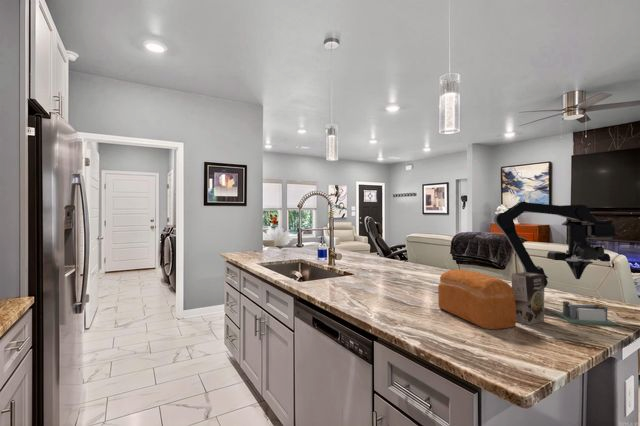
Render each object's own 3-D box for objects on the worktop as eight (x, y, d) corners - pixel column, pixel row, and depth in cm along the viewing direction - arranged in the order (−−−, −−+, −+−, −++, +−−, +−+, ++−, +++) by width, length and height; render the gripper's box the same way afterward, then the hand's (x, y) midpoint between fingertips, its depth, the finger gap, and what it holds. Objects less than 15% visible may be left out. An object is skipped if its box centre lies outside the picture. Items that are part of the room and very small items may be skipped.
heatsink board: (571, 323, 110) (572, 307, 110) (555, 313, 120) (555, 299, 119) (615, 325, 108) (615, 308, 108) (594, 315, 118) (594, 300, 118)
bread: (464, 305, 131) (464, 265, 131) (520, 327, 106) (520, 278, 106) (434, 307, 127) (434, 267, 127) (485, 331, 102) (485, 281, 102)
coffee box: (529, 325, 107) (529, 276, 107) (510, 319, 113) (510, 273, 113) (545, 321, 111) (545, 274, 111) (526, 316, 117) (526, 271, 117)
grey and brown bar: (570, 309, 113) (569, 304, 113) (566, 307, 116) (565, 302, 116) (602, 309, 112) (602, 304, 112) (597, 307, 114) (597, 302, 114)
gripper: (563, 239, 117) (563, 282, 117) (622, 240, 114) (621, 284, 114) (546, 236, 128) (546, 276, 128) (599, 237, 125) (599, 278, 125)
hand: (577, 279), depth 123 cm, fingers closed
